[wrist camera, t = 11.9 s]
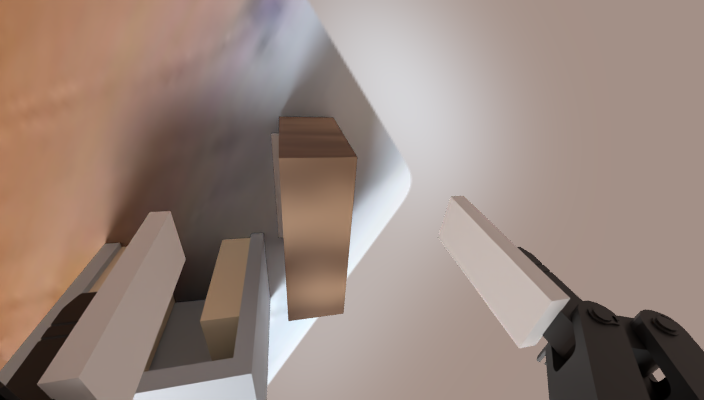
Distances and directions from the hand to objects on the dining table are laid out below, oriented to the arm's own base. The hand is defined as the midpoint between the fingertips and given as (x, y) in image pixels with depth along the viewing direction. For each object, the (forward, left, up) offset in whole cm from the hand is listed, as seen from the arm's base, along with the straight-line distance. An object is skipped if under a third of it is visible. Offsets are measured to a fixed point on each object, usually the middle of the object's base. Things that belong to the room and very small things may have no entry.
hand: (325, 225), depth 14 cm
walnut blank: (+5, 0, -13) cm, 14 cm away
